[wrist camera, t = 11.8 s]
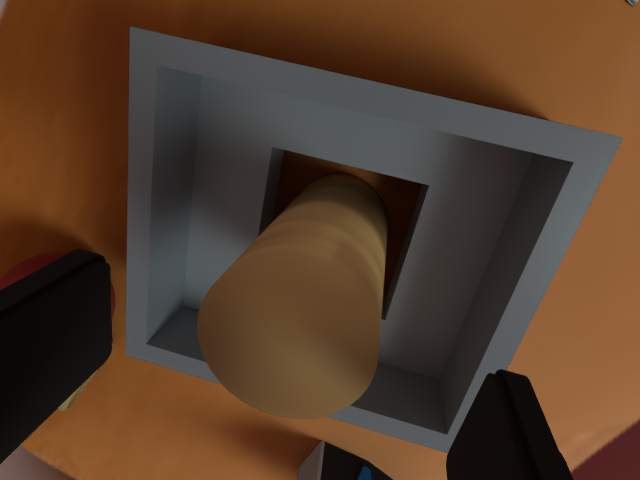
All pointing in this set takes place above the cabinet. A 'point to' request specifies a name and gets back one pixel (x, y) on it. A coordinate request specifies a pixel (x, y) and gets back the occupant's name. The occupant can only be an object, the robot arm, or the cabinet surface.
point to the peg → (303, 304)
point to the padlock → (337, 466)
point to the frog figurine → (632, 2)
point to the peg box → (366, 153)
